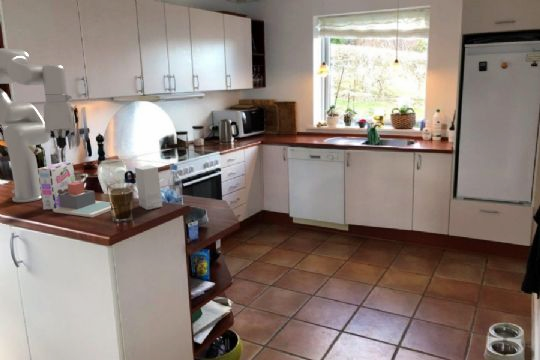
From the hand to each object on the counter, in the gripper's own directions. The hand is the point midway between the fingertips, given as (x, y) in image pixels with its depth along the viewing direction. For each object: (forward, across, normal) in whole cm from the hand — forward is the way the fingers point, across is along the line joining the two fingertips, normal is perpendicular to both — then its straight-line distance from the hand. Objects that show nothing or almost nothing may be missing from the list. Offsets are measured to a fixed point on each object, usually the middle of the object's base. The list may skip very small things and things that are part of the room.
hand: (62, 147), depth 175 cm
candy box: (+24, +3, -3) cm, 24 cm away
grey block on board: (+23, -8, +7) cm, 25 cm away
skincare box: (+23, -31, +11) cm, 40 cm away
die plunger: (+22, -4, +4) cm, 22 cm away
